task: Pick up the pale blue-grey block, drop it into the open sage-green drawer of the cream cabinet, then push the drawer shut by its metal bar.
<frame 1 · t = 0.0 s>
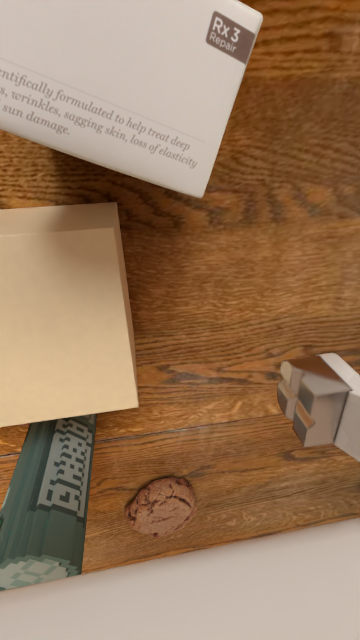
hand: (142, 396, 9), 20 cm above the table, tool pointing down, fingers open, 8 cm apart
cabinet: (40, 285, 27), on the table
can: (66, 414, 34), on the table
cookie: (160, 499, 44), on the table
cosmetic box: (115, 115, 22), on the table
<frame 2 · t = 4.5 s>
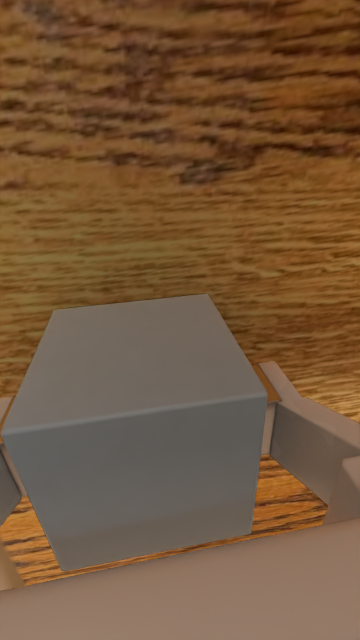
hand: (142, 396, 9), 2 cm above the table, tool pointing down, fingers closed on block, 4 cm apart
block: (140, 363, 10), on the table, touching gripper
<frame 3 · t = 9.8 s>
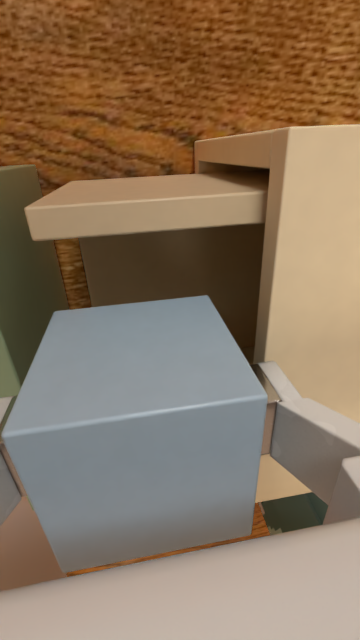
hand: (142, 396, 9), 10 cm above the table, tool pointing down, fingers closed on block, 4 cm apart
cabinet: (317, 258, 18), on the table
block: (141, 364, 10), point 8 cm above the table, touching gripper
drawer: (130, 317, 13), point 5 cm above the table, slide at 7.0 cm
can: (274, 436, 26), on the table
mug: (30, 533, 27), on the table
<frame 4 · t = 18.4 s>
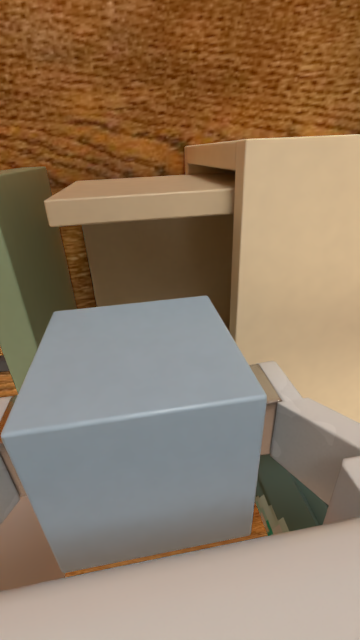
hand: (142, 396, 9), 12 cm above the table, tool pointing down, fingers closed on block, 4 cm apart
cabinet: (297, 251, 20), on the table
block: (140, 364, 10), point 10 cm above the table, touching gripper
drawer: (128, 298, 15), point 5 cm above the table, slide at 7.0 cm
can: (262, 418, 28), on the table
mug: (35, 509, 28), on the table
when the fingers open (13 cm above the table, at t = 26.4 s): block drops 9 cm, resting on drawer.
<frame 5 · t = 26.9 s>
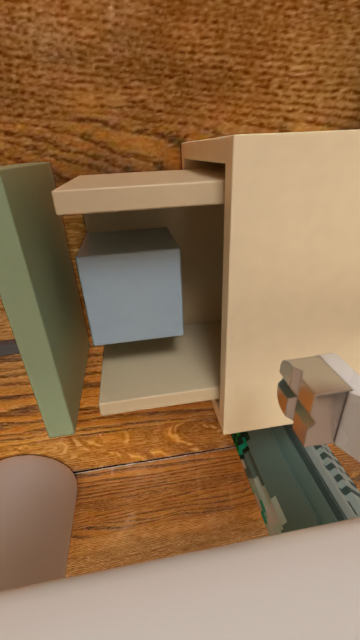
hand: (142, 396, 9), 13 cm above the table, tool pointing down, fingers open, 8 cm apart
cabinet: (289, 243, 21), on the table
block: (132, 268, 18), point 2 cm above the table, touching drawer
drawer: (128, 285, 16), point 5 cm above the table, slide at 7.0 cm, touching block
can: (257, 406, 29), on the table
mug: (38, 494, 29), on the table
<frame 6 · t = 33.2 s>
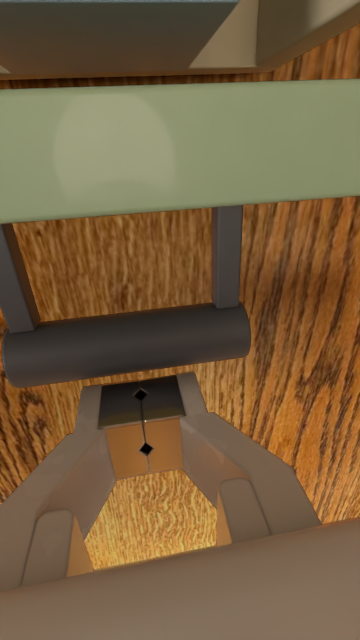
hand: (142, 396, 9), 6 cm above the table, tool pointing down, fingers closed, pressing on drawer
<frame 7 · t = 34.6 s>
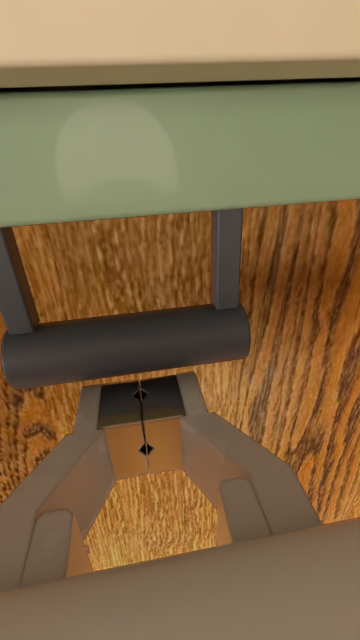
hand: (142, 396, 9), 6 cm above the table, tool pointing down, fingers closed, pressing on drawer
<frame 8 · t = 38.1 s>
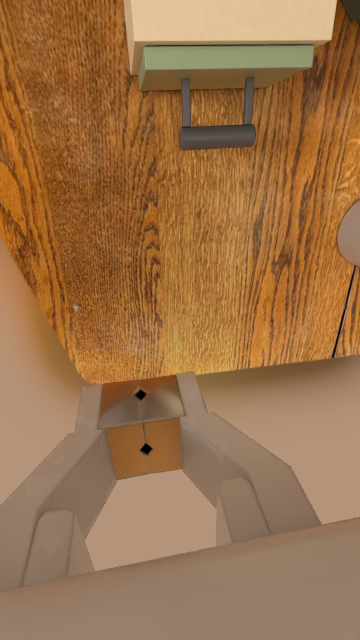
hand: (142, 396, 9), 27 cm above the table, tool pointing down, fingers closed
drawer: (217, 1, 22), point 5 cm above the table, slide at 0.0 cm, touching block
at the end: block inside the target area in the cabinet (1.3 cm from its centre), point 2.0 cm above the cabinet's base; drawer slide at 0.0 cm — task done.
